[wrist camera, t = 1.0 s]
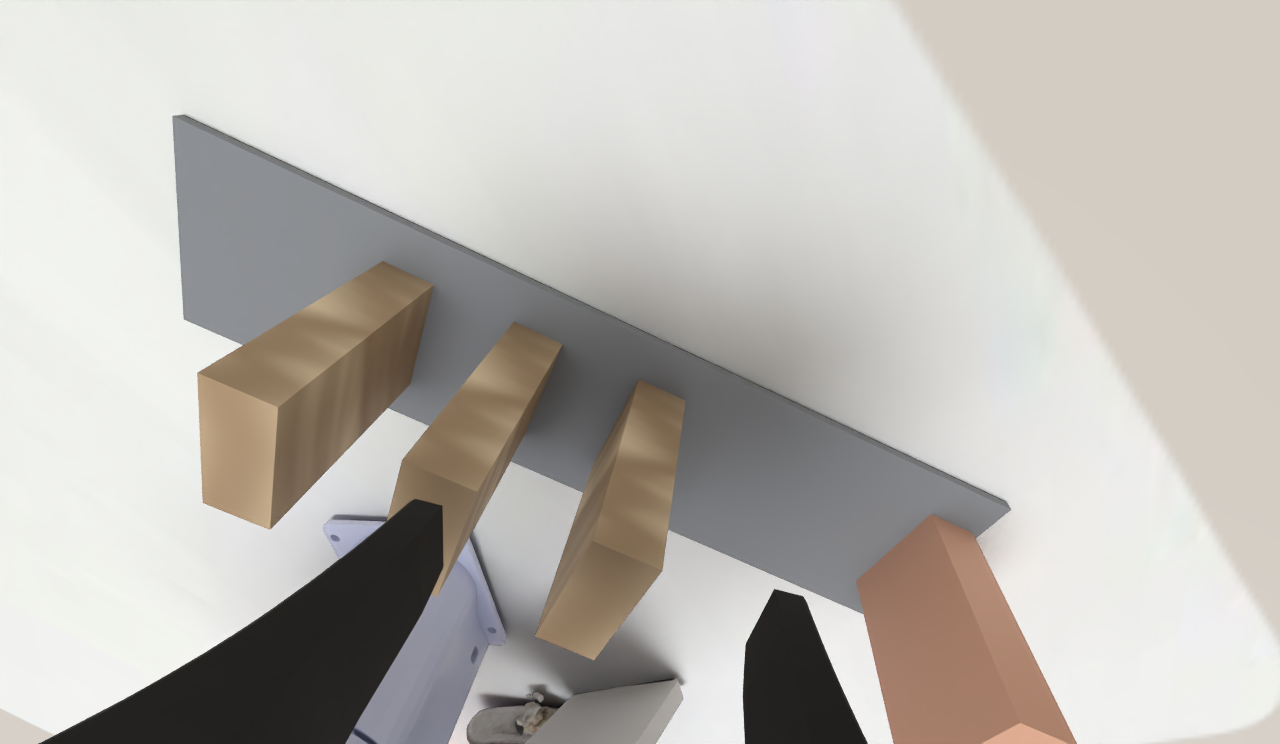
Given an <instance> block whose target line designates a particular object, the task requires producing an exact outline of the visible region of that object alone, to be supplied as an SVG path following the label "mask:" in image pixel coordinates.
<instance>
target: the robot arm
mask: <svg viewBox="0 0 1280 744" xmlns="http://www.w3.org/2000/svg"><path fill="white" fill-rule="evenodd" d="M323 530H324V532H325V534H326V536H327V538H328V540H329V541H330V543H331V545H332V547H333V548H334V550H335V552H336V554H337V556H338V557H339V560H338V561H337V562H335V563H334V564H333V565H331V566H330V567H329V568H328V569H326V570H325V571H324V572H322V573H321V574H320V575H319V576H317V577H316V578H315V579H313V580H312V581H311V582H309V583H308V584H306V585H305V586H304V587H302V588H301V589H299V590H298V591H297V592H295V593H294V594H292V595H291V596H290V597H288V598H287V599H285V600H284V601H283V602H281V603H280V604H278V605H277V606H276V607H274V608H273V609H271V610H270V611H268V612H267V613H266V614H264V615H263V616H261V617H260V618H258V619H257V620H255V621H254V622H252V623H251V624H249V625H248V626H246V627H245V628H243V629H242V630H240V631H238V632H237V633H235V634H234V635H232V636H231V637H229V638H228V639H226V640H224V641H223V642H221V643H220V644H218V645H216V646H215V647H213V648H212V649H210V650H208V651H207V652H205V653H204V654H202V655H200V656H199V657H197V658H195V659H194V660H192V661H190V662H188V663H187V664H185V665H183V666H182V667H180V668H178V669H177V670H175V671H173V672H171V673H170V674H168V675H166V676H165V677H163V678H161V679H160V680H158V681H156V682H154V683H153V684H151V685H149V686H147V687H145V688H144V689H142V690H140V691H138V692H137V693H135V694H133V695H131V696H129V697H127V698H126V699H124V700H122V701H120V702H118V703H116V704H114V705H112V706H111V707H109V708H107V709H105V710H103V711H101V712H99V713H97V714H95V715H93V716H91V717H89V718H87V719H86V720H84V721H82V722H80V723H78V724H76V725H74V726H72V727H70V728H68V729H66V730H64V731H63V732H61V733H59V734H57V735H55V736H53V737H51V738H49V739H47V740H45V741H43V742H41V743H39V744H448V742H449V740H450V738H451V735H452V733H453V730H454V728H455V725H456V723H457V720H458V718H459V716H460V713H461V711H462V708H463V706H464V703H465V701H466V699H467V696H468V694H469V691H470V689H471V686H472V684H473V682H474V679H475V677H476V674H477V672H478V669H479V667H480V665H481V662H482V660H483V657H484V655H485V652H486V650H487V647H488V645H495V646H501V645H503V644H504V643H505V641H506V634H505V631H504V628H503V626H502V623H501V620H500V618H499V615H498V612H497V610H496V607H495V604H494V602H493V599H492V596H491V594H490V591H489V588H488V586H487V583H486V580H485V578H484V575H483V572H482V570H481V567H480V564H479V561H478V559H477V556H476V553H475V551H474V548H473V545H472V543H471V540H470V537H469V539H468V541H467V542H466V544H465V546H464V548H463V550H462V552H461V554H460V555H459V557H458V559H457V561H456V563H455V565H454V566H453V568H452V570H451V572H450V574H449V576H448V578H447V579H446V581H445V583H444V585H443V587H442V589H441V590H440V592H439V594H438V596H437V597H436V596H433V595H431V594H432V592H433V589H434V587H435V585H436V583H437V580H438V578H439V576H440V574H441V572H442V569H443V567H444V562H443V506H442V505H438V504H434V503H431V502H427V501H423V500H419V499H414V500H412V501H410V502H409V503H408V504H406V505H405V506H404V507H403V508H402V509H401V510H399V511H398V512H397V513H396V514H395V515H393V516H392V517H391V518H390V519H389V520H388V521H386V522H382V521H357V520H328V521H327V522H326V523H325V524H324V525H323ZM743 710H744V731H745V744H868V743H867V741H866V739H865V737H864V735H863V733H862V731H861V728H860V726H859V724H858V722H857V720H856V718H855V716H854V713H853V711H852V709H851V707H850V705H849V703H848V700H847V698H846V696H845V694H844V692H843V690H842V687H841V685H840V683H839V681H838V678H837V676H836V674H835V671H834V669H833V667H832V664H831V662H830V660H829V657H828V655H827V652H826V650H825V648H824V645H823V643H822V640H821V638H820V635H819V633H818V630H817V628H816V625H815V623H814V620H813V618H812V615H811V613H810V610H809V607H808V605H807V602H806V600H805V599H804V597H803V596H800V595H796V594H792V593H788V592H784V591H780V590H776V589H774V591H773V593H772V595H771V597H770V598H769V600H768V602H767V604H766V606H765V608H764V610H763V612H762V614H761V616H760V618H759V620H758V622H757V623H756V625H755V627H754V629H753V631H752V633H751V635H750V637H749V639H748V641H747V643H746V648H745V664H744V683H743Z"/></svg>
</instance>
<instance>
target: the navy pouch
mask: <svg viewBox="0 0 1280 744" xmlns="http://www.w3.org/2000/svg"><path fill="white" fill-rule="evenodd" d="M532 696H533V699H536V700H539V702H540V703H541V702H542V701H543V700H544V697H543V695H542V694H540V693H538V692H535V693H534V694H533V695H532ZM526 698H530V694H529V695H526ZM558 709H559V708H554V707H548V706H540V704H538V703H536V704H535V702H534V701H533V702H529V703H526V704H525V706H521V705H520V706H510V707H495V708H487V709H484V710H481V711H479V712H478V713H477V714H476V715H475V716H474V717H473V718H472V720H471V721H470V723H469V724H468V726H467V740H468V742H469V743H470V744H525V743H526V742H527V741H528V740H529V739H530V738H531V737H532V736H533V735H534V734H535V733H536V732H537V731H538V730H539V729H540V728H541V727H542V726H543V725H544V723H545V722H546V721H547V720H548V719H549V718H550V717H551V716H552V715H553V714H554V713H555V712H556V711H557V710H558Z"/></svg>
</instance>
